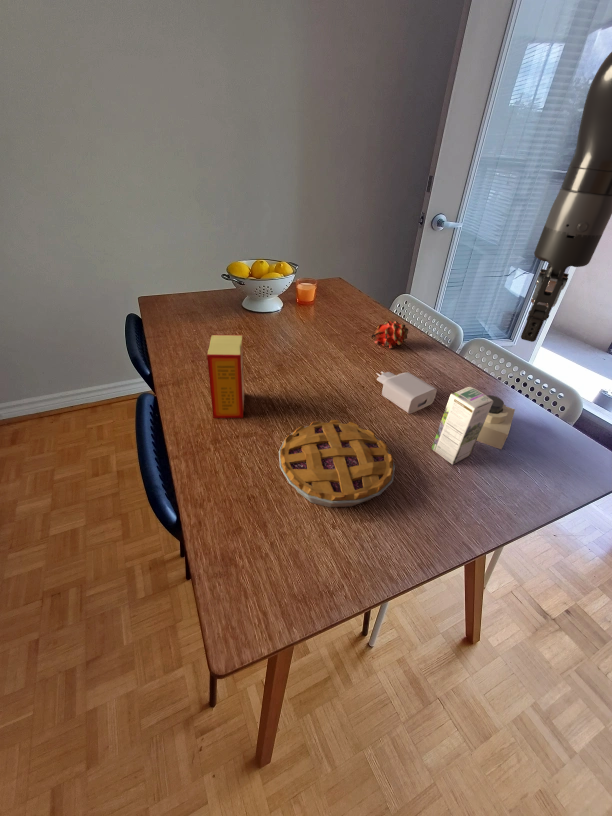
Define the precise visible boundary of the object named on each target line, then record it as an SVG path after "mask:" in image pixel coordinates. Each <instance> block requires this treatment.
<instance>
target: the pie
mask: <svg viewBox="0 0 612 816" xmlns="http://www.w3.org/2000/svg"><path fill="white" fill-rule="evenodd" d="M278 458H279V460H278V461H279V469H280V470H281V472H282V473H283V475H284V477H285V478H286V480H287V482H288V484H289V485H290V486H292V487H293V488H294V489H295V491H296V492H297V493H298V494H300V495H301V496H302V497H303V498H305V499H306V500H307V501H309V502H310V503H311V504H315V505H319V506H324V507H328V508H343V507H345V508H347V507H354V506H357V505H359V504H362V503H364V502H367V501H371V500H372V499H374V498H375V497H377V496H380V495H381V494H382V493H383V492H384V491H385V490H387V488H388V487H389V486H390V485H392V484H393V483H394V477H395V471H396V470H395V468H396V465H395V462H394V459H393V454H391V453H390V450H389V448H388V445H387V444H386V443H385V442H384V440H380V439H379V438H378V437H377V436H376V434H375V432H373V431H372V430H371V429H369V428H368V429H364V428H362V427H360V426H359V425H358V423H356V422H353V421H349V422H347V423H343V422H341V421H340V420H339V419H330V421H329V422H322V421H319V420H318V421H317V420H316V421H312V422H311V423H310V424H309V425H306V426H302V425H300V426H298V427H297V428H296V429H295V430H294V431H293V432H291V433H290V434H287V436H286V437H285V438H284V440H283V442H282V444H281V446H280V448H279V449H278Z"/></svg>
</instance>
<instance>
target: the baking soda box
mask: <svg viewBox="0 0 612 816" xmlns="http://www.w3.org/2000/svg"><path fill="white" fill-rule="evenodd" d="M243 342H244V341H243V334H211V337H210V341H209V345H208V350H207V354H206V359H207V369H208V378H209V379H208V381H209V388H210V399H211V408H212V409H211V410H212V418H213V419H243V418H244V407H245V371H244V370H245V369H244V368H245V367H244V344H243Z"/></svg>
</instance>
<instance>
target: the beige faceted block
mask: <svg viewBox="0 0 612 816" xmlns="http://www.w3.org/2000/svg"><path fill="white" fill-rule="evenodd" d="M515 413H516V409H515V408H514V407H513V408H512V407H510V406H506V405H505V404H504V405H503V408H502V410H501V412H500V413H499V414H492V413H488V415H487V417H486V420H485V422H484V424H483V427H482V429H481V431H480V433H479V436H478V438H477V440H476V442H479V443H481V444H484V445H487V446H490V447H492V448H496V449H498V450H502V449H503V448H504V445H505V444H506V441H507V438H508V436H509V433H510V430H511V426H512V422H513V419H514V416H515Z"/></svg>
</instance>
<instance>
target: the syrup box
mask: <svg viewBox="0 0 612 816" xmlns="http://www.w3.org/2000/svg"><path fill="white" fill-rule="evenodd" d="M486 395H487V394H485V393H483V392H481V391H480V390H478V389H477V388H474V387H472V386H467V387H464V388H461V389H460V390H457V391H455V392H452V393H450V395H449V398H448V400H447V404H446V406H445V409H444V412H443V415H442V419H441V421H440V423H439V425H438V429H437V432H436V435H435V438H434V440H433V443H432V446H431V450H432V451H433V452H434V453H436V454H437V455H438V456H440V457H441V458H443V459H444V460H445V461H446V462H447V463H449V464H451V465H456V464H457V463H459V462H460V461H462V460H464V459H466V458H468V457H470V456H471V454H472V453H473V452H472V451H473V449H474V447H475V445H476V442H477V441H476V440H477V438H478V436H479V433H480V431H481V429H482V427H483V424H484V422H485V420H486V417H487V415H488V413H489V410H490V408H491V406H492V403H493V400H492V399H490V398H489V397H488V396H486Z"/></svg>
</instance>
